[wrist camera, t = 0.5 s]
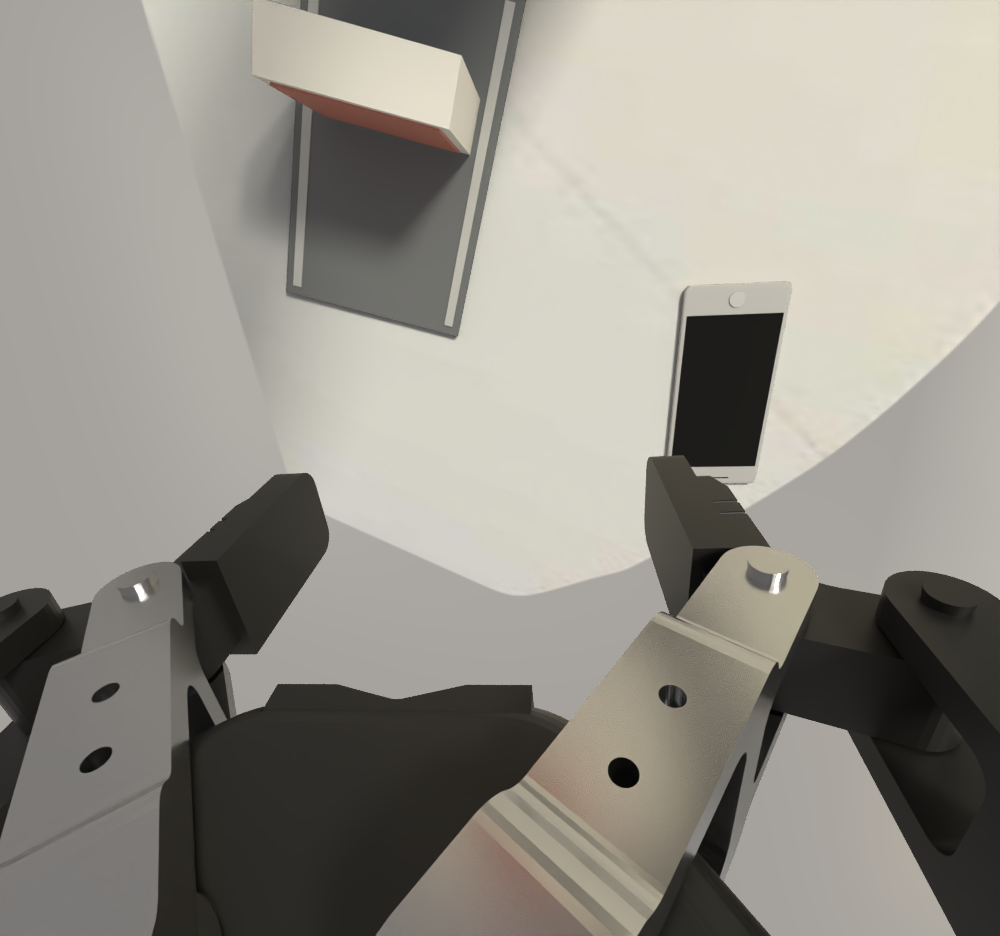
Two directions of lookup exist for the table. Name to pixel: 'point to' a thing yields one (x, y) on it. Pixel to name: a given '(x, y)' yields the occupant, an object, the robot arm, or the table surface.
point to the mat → (400, 176)
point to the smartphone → (726, 376)
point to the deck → (365, 76)
